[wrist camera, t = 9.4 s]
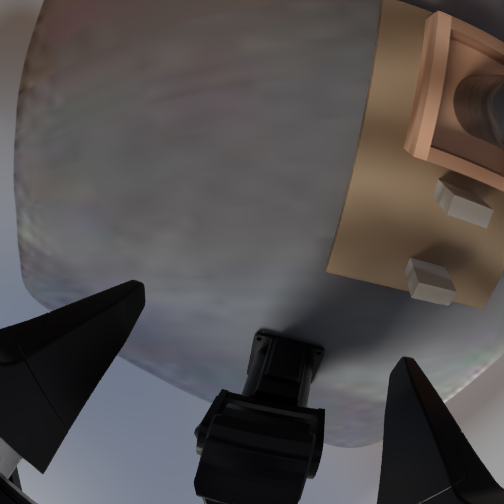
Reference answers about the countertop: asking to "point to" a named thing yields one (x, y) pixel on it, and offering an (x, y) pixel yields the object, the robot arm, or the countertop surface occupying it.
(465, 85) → the cell
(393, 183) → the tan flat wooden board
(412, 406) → the robot arm
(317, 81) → the countertop surface
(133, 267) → the countertop surface
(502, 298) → the countertop surface
